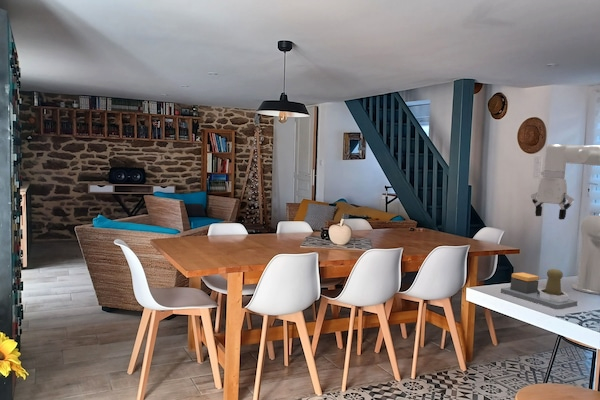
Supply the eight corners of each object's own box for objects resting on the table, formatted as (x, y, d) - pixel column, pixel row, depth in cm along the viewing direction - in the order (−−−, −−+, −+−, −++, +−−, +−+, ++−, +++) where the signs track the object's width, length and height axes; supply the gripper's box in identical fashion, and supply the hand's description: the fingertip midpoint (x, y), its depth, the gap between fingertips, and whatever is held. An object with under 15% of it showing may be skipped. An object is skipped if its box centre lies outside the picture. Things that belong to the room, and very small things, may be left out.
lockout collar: (546, 294, 192) (547, 287, 192) (571, 300, 184) (572, 294, 184) (532, 296, 187) (533, 290, 187) (557, 303, 179) (557, 296, 179)
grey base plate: (520, 289, 203) (521, 274, 203) (576, 305, 184) (578, 289, 184) (500, 292, 196) (502, 277, 196) (557, 309, 177) (559, 292, 177)
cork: (563, 301, 182) (566, 272, 181) (545, 299, 183) (548, 270, 182) (558, 297, 188) (561, 268, 187) (541, 295, 189) (544, 267, 188)
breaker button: (521, 283, 200) (522, 272, 199) (537, 287, 194) (538, 276, 193) (510, 284, 196) (511, 273, 196) (527, 289, 190) (528, 277, 190)
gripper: (528, 173, 204) (524, 215, 206) (570, 176, 190) (566, 220, 191) (538, 174, 208) (534, 214, 210) (581, 176, 194) (576, 220, 196)
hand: (549, 217), depth 201 cm, fingers open, 9 cm apart
